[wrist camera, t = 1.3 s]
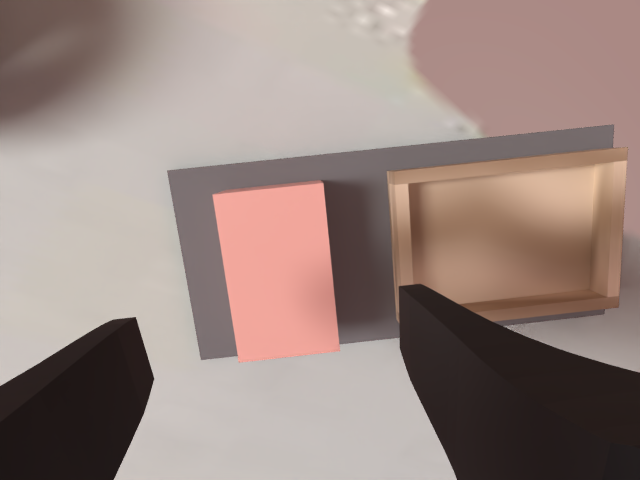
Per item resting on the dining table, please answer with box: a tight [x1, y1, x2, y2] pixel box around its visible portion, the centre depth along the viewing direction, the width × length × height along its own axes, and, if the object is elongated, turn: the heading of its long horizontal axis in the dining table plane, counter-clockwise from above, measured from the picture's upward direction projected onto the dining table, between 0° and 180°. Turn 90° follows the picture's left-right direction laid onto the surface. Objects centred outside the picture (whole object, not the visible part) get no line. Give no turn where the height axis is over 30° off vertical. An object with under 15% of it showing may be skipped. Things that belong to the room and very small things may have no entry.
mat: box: [167, 125, 614, 360], centre depth 20 cm, size 10×22×1 cm, turn 96°
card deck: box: [213, 180, 340, 362], centre depth 18 cm, size 8×5×3 cm, turn 6°
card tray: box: [387, 147, 628, 322], centre depth 19 cm, size 8×11×2 cm
